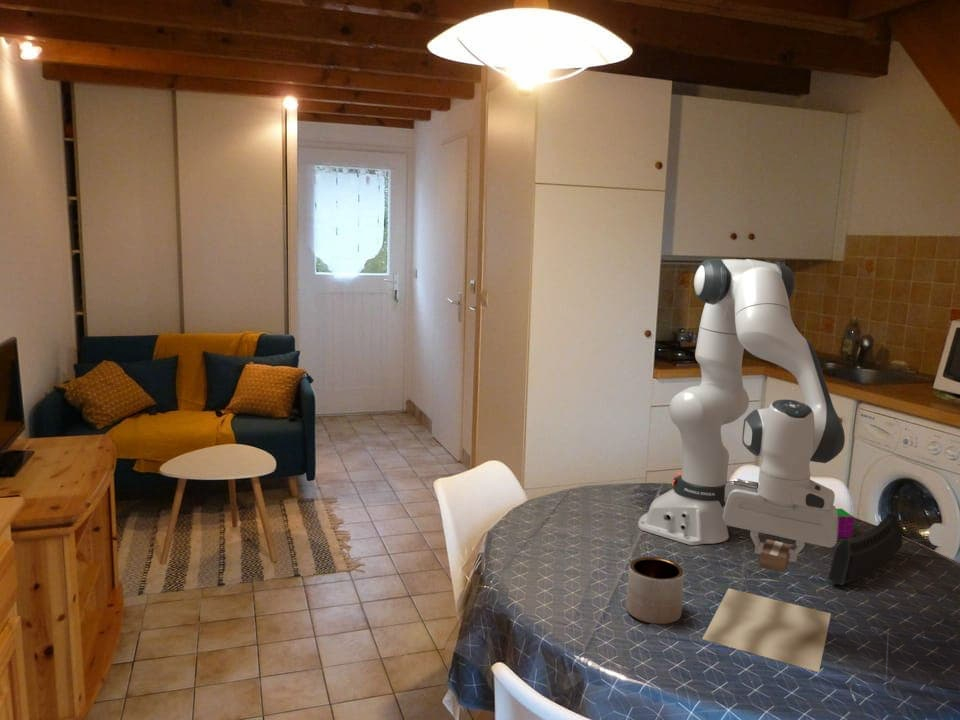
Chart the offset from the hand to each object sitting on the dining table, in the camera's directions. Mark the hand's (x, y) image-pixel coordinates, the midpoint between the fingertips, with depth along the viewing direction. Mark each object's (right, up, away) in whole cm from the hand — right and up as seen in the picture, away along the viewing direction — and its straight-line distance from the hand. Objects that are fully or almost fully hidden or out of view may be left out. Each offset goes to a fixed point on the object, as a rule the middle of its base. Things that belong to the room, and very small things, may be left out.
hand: (775, 556), depth 141 cm
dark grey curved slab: (+33, -11, +30) cm, 46 cm away
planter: (-22, -13, +7) cm, 26 cm away
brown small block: (0, -1, 0) cm, 1 cm away
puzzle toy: (+36, -8, +51) cm, 63 cm away
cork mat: (0, -15, +2) cm, 15 cm away
